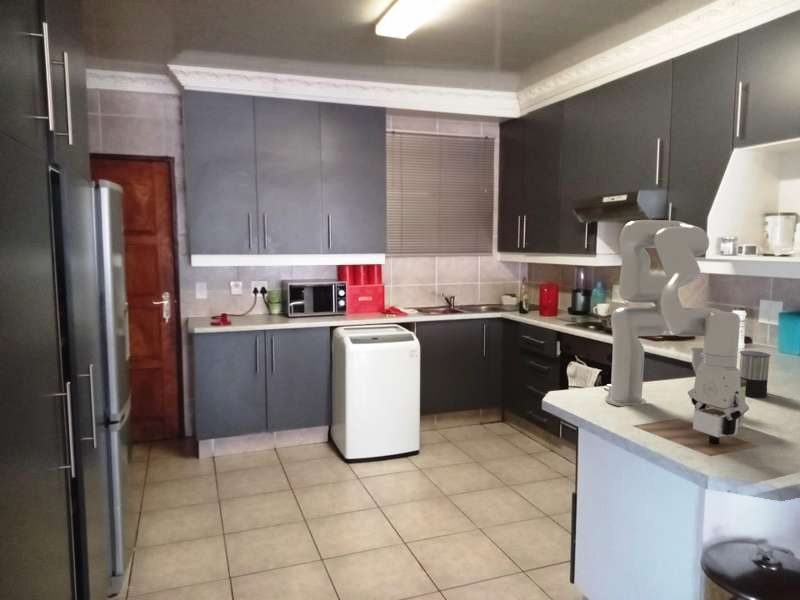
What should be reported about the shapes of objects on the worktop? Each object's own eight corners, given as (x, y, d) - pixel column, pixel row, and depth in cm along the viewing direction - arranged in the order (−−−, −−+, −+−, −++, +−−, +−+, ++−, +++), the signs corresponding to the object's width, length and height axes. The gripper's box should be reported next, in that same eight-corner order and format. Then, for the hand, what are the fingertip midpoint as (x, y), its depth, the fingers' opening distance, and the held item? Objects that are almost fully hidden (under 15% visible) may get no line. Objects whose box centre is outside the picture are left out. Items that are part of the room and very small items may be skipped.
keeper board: (632, 430, 156) (632, 425, 155) (678, 423, 163) (678, 418, 163) (710, 462, 134) (710, 455, 134) (759, 451, 141) (760, 445, 141)
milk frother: (772, 399, 190) (775, 356, 189) (721, 396, 194) (724, 353, 192) (755, 388, 204) (758, 348, 203) (708, 385, 207) (710, 346, 206)
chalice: (698, 407, 179) (702, 352, 177) (682, 401, 186) (686, 348, 184) (717, 406, 181) (721, 351, 179) (700, 400, 188) (704, 347, 186)
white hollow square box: (692, 428, 144) (694, 409, 144) (711, 425, 147) (713, 407, 146) (717, 437, 138) (719, 417, 137) (737, 433, 141) (738, 414, 140)
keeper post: (705, 441, 143) (707, 413, 143) (712, 440, 144) (714, 412, 144) (715, 445, 141) (717, 416, 140) (722, 443, 142) (724, 415, 141)
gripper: (679, 355, 147) (675, 421, 149) (742, 369, 131) (737, 442, 133) (699, 353, 150) (695, 418, 152) (763, 366, 134) (758, 438, 136)
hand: (714, 429), depth 142 cm, fingers closed on white hollow square box, 7 cm apart
